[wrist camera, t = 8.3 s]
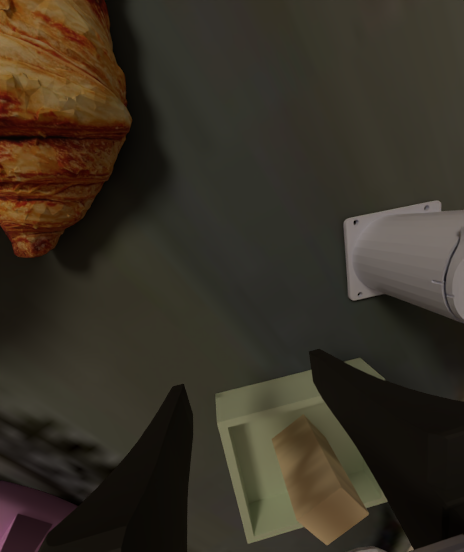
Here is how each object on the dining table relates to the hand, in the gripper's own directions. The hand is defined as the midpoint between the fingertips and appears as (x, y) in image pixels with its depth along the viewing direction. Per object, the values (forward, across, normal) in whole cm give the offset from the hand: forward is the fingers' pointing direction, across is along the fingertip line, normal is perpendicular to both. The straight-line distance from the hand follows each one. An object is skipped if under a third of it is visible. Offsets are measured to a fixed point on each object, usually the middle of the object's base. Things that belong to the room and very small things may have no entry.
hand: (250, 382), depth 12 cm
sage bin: (+9, -5, +16) cm, 19 cm away
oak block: (+9, -4, +16) cm, 19 cm away
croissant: (+10, +8, -18) cm, 23 cm away
